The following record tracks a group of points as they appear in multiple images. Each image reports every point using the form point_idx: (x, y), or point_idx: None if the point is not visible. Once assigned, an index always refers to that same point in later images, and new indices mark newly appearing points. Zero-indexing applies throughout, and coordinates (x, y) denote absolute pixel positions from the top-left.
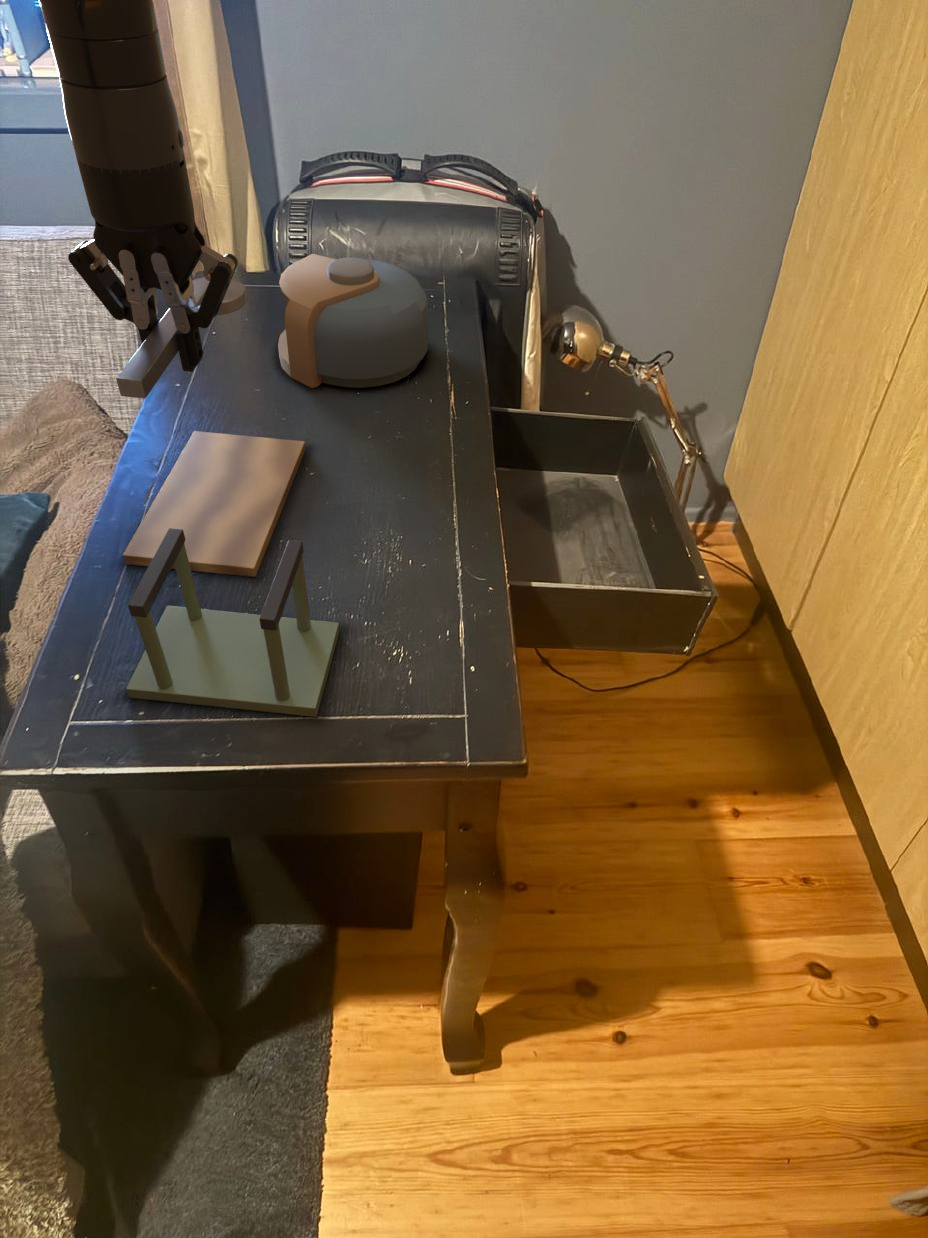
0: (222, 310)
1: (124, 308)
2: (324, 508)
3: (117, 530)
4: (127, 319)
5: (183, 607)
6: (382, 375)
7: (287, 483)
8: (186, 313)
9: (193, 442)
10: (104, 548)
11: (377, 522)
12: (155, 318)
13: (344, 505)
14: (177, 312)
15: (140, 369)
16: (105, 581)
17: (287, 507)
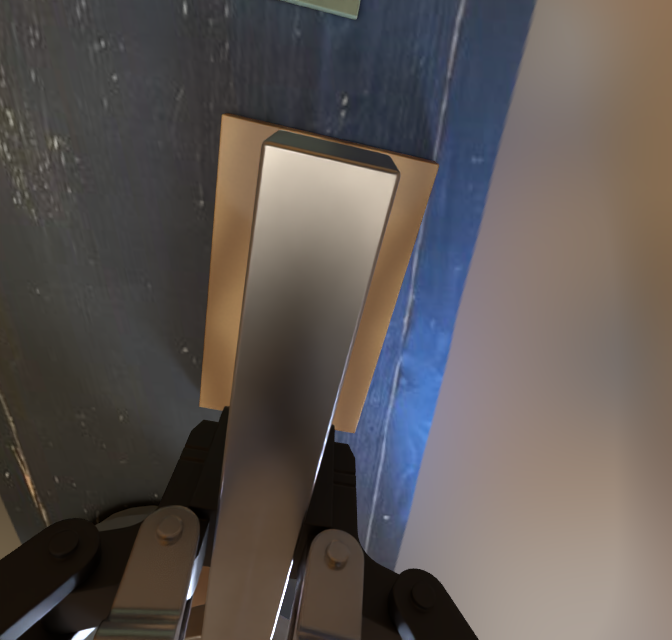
0: (198, 615)
1: (394, 618)
2: (151, 275)
3: (450, 243)
4: (390, 572)
5: (327, 8)
6: (116, 519)
7: (206, 320)
8: (119, 585)
9: (353, 411)
10: (468, 203)
11: (62, 238)
12: (298, 577)
13: (122, 280)
14: (157, 591)
15: (289, 257)
16: (464, 120)
17: (206, 280)
